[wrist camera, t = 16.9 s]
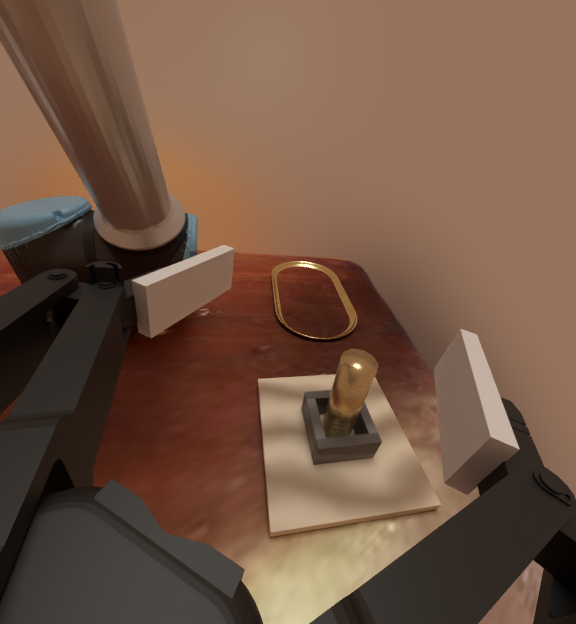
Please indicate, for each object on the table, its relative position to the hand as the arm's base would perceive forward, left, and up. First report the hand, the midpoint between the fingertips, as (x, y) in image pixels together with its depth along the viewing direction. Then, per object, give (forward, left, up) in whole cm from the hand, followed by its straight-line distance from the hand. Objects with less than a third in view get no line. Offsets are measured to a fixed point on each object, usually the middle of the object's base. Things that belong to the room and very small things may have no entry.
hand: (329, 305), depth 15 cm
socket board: (-7, +8, -28) cm, 30 cm away
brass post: (-7, +8, -26) cm, 28 cm away
